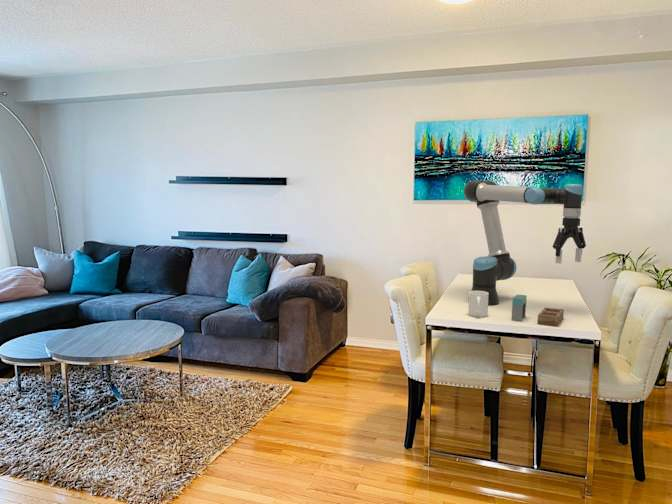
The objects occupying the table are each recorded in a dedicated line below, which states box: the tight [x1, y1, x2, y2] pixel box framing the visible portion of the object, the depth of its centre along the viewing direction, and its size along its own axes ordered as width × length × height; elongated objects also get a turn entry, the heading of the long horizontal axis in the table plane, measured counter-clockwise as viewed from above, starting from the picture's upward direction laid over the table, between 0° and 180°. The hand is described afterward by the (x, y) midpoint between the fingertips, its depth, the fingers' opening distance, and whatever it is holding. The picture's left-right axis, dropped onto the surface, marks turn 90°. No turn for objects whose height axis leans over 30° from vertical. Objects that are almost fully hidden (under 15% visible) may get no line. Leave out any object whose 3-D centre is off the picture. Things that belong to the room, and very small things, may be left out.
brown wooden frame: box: [536, 307, 565, 327], centre depth 229 cm, size 18×8×4 cm, turn 149°
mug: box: [468, 290, 489, 318], centre depth 237 cm, size 9×12×11 cm
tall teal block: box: [511, 294, 527, 322], centre depth 232 cm, size 10×4×10 cm, turn 149°
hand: (568, 262), depth 244 cm, fingers open, 13 cm apart
